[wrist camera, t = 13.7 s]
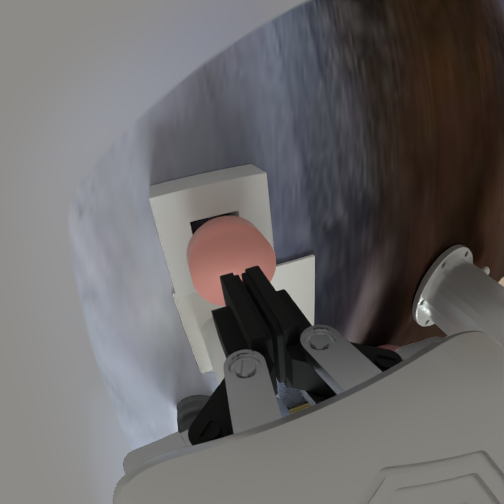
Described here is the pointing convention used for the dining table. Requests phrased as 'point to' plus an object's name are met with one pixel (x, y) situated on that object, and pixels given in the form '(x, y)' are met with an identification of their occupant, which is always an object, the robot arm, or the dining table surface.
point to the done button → (226, 254)
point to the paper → (199, 310)
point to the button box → (206, 211)
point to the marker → (224, 358)
